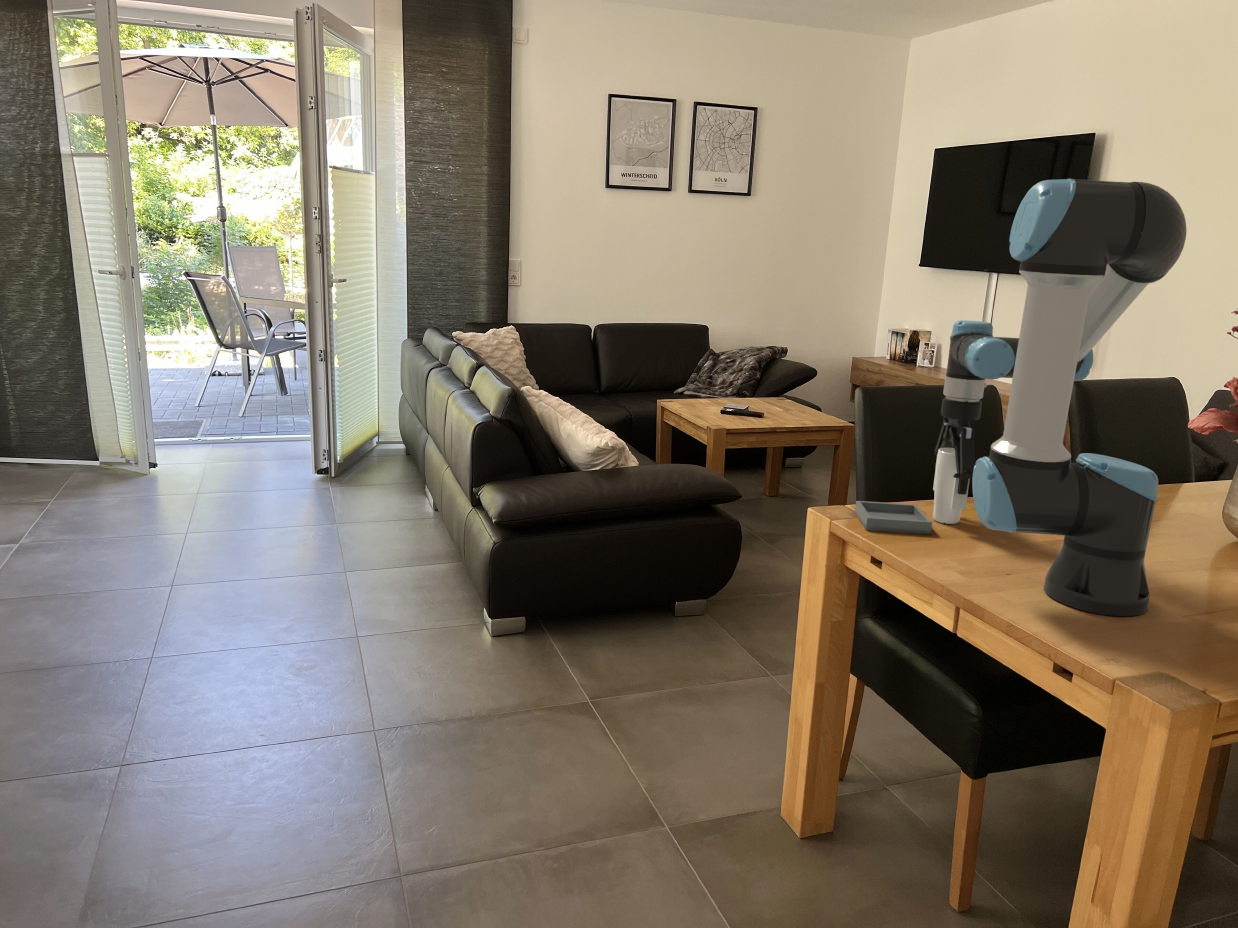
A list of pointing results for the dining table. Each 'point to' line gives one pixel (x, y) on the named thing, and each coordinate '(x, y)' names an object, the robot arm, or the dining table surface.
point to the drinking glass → (945, 487)
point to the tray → (893, 517)
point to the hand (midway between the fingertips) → (948, 499)
